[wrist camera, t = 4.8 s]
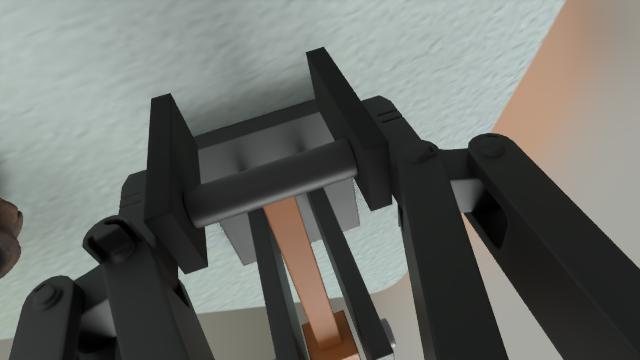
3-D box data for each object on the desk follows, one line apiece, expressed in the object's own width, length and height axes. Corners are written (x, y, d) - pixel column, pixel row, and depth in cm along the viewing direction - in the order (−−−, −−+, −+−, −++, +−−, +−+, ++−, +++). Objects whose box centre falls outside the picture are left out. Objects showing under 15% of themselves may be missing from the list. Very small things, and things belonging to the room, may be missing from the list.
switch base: (180, 140, 24) (188, 385, 13) (333, 93, 25) (453, 288, 14) (241, 251, 32) (275, 456, 22) (354, 213, 33) (439, 392, 23)
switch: (183, 173, 13) (180, 218, 11) (338, 123, 13) (361, 159, 12) (284, 363, 21) (293, 409, 19) (380, 328, 21) (398, 369, 19)
